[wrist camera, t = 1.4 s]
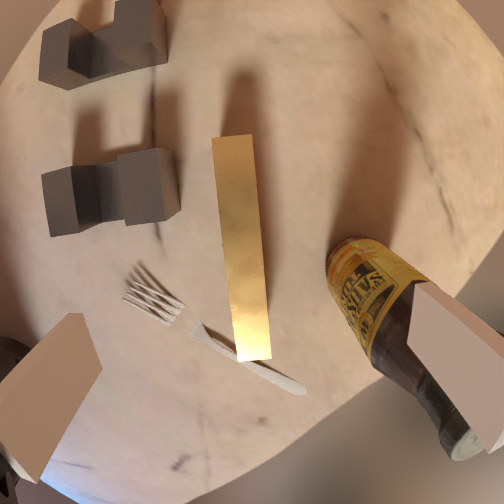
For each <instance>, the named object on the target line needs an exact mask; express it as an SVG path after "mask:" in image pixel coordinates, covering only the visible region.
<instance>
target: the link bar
mask: <svg viewBox="0 0 504 504" xmlns="http://www.w3.org/2000/svg"><path fill="white" fill-rule="evenodd" d="M212 148H213V158H214V168H215V178H216V187H217V197H218V206H219V215H220V224H221V233H222V241H223V250H224V258H225V266H226V274H227V282H228V290H229V298H230V305H231V313H232V320H233V328H234V335H235V342H236V349H237V356H238V361H249V360H261V359H271V350H270V338H269V325H268V312H267V300H266V288H265V275H264V263H263V252H262V240H261V228H260V217H259V206H258V194H257V183H256V172H255V162H254V151H253V140H252V134H246V135H236V136H226V137H217V138H212Z"/></svg>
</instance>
